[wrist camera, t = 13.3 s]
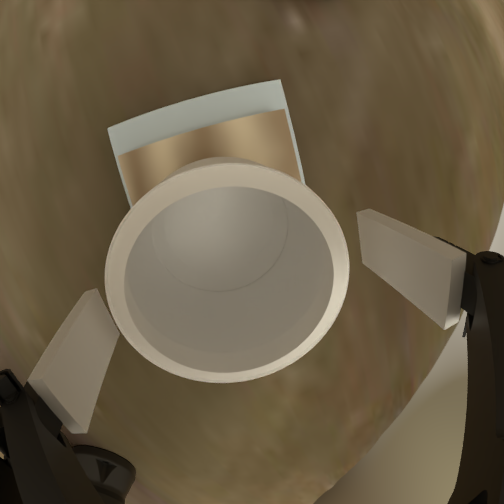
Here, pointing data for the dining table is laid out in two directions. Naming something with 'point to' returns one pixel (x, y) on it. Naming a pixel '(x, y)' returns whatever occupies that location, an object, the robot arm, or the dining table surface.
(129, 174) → the tan flat block
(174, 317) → the jar
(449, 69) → the dining table surface
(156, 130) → the board
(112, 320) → the robot arm
